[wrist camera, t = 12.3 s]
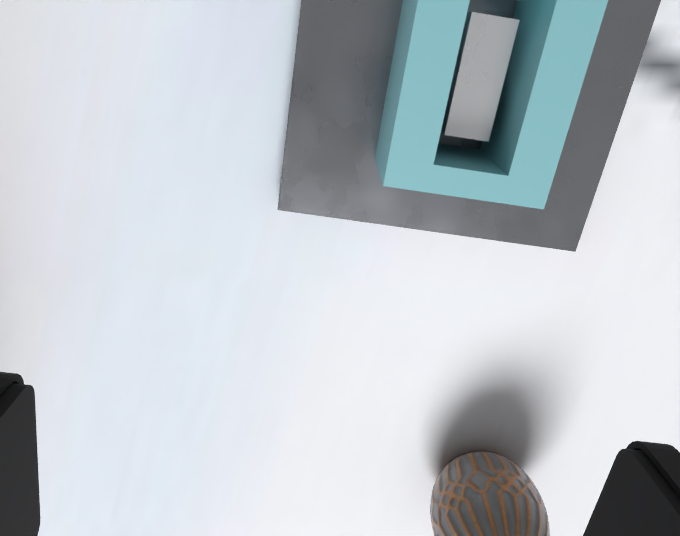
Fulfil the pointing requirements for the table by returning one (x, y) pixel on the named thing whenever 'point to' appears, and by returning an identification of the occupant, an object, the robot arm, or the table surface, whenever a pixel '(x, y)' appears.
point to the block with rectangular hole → (513, 108)
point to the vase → (486, 499)
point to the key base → (358, 111)
